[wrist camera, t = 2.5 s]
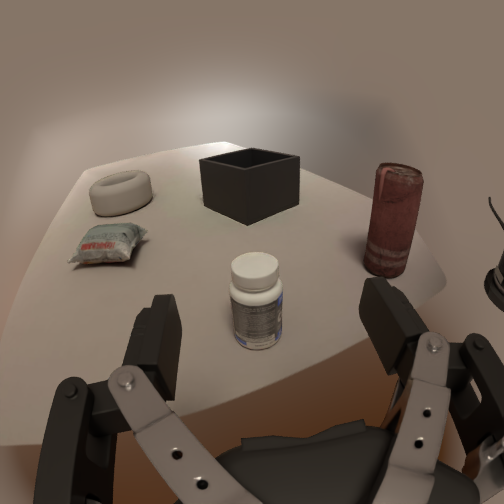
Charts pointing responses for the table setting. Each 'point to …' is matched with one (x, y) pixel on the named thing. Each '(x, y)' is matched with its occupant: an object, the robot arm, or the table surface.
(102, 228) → the packaged food
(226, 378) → the table surface
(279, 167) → the trash bin
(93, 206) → the donut shape
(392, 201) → the can
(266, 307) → the pill bottle
